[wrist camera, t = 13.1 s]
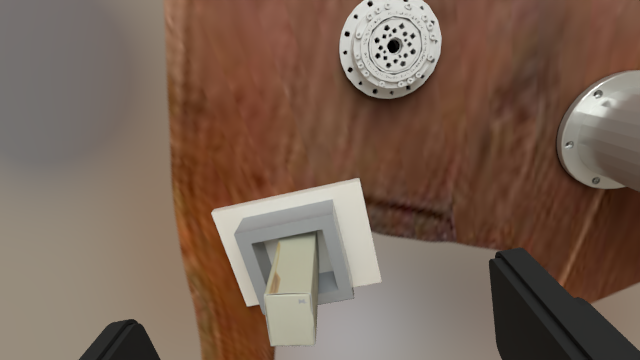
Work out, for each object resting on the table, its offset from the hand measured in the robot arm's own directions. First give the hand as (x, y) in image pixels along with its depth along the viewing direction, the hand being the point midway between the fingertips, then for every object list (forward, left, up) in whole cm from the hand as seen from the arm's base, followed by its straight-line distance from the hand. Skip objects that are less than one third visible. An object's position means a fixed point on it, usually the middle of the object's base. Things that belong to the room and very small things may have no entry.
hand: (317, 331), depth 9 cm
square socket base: (+7, +14, -30) cm, 34 cm away
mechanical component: (-8, -6, -31) cm, 32 cm away
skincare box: (+7, +14, -30) cm, 33 cm away
